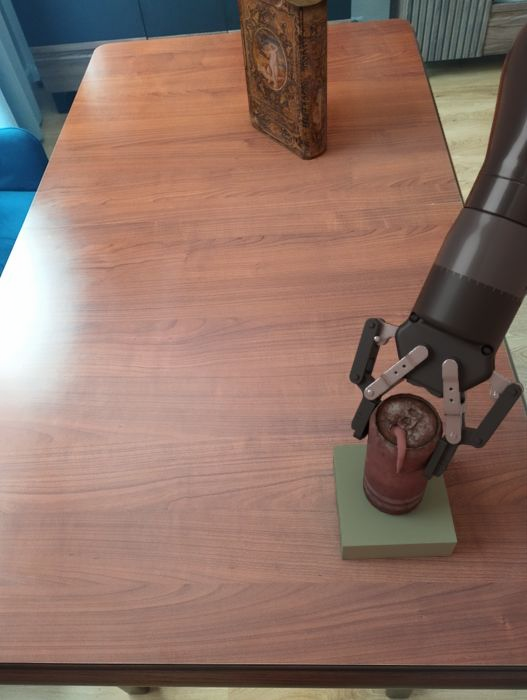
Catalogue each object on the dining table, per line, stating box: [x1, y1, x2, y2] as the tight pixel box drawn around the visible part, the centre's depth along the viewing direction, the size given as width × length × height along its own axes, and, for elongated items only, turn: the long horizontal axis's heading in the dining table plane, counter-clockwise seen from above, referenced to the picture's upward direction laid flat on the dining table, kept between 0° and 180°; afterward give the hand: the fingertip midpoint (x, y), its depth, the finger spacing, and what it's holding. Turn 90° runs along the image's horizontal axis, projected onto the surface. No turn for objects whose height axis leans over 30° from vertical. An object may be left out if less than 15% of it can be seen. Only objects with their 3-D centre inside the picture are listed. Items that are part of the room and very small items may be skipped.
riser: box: [332, 443, 458, 560], centre depth 61 cm, size 11×11×4 cm
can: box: [363, 392, 444, 515], centre depth 54 cm, size 6×6×14 cm
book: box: [237, 0, 329, 161], centre depth 97 cm, size 16×6×25 cm, turn 39°
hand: (393, 455), depth 51 cm, fingers closed on can, 6 cm apart
